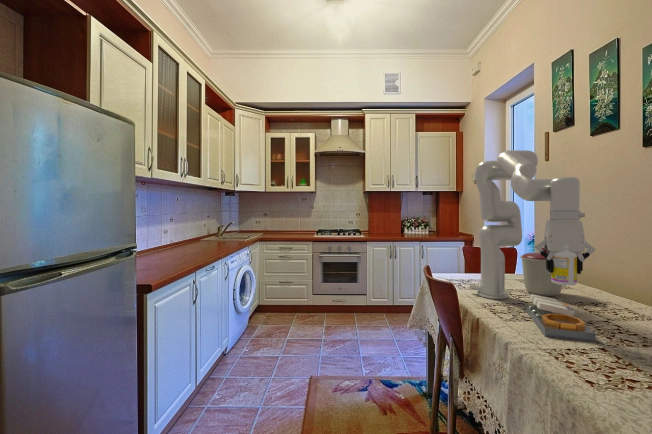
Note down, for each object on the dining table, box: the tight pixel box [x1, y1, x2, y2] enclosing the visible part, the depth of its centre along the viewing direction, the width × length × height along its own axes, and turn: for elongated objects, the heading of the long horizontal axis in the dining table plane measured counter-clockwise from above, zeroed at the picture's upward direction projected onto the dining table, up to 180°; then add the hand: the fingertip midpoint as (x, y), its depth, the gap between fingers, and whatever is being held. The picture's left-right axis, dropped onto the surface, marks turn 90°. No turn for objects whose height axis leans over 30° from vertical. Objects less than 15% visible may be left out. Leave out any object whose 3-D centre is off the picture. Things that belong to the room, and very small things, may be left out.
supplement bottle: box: [551, 245, 578, 286], centre depth 104 cm, size 7×7×13 cm
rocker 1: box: [529, 293, 565, 303], centre depth 121 cm, size 10×3×2 cm, turn 70°
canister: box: [519, 247, 563, 297], centre depth 150 cm, size 18×18×21 cm
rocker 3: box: [536, 301, 576, 317], centre depth 112 cm, size 10×3×2 cm, turn 70°
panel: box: [525, 304, 596, 343], centre depth 110 cm, size 13×26×4 cm, turn 160°
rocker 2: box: [532, 297, 570, 307], centre depth 116 cm, size 10×3×2 cm, turn 70°
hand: (563, 272), depth 104 cm, fingers closed on supplement bottle, 6 cm apart
